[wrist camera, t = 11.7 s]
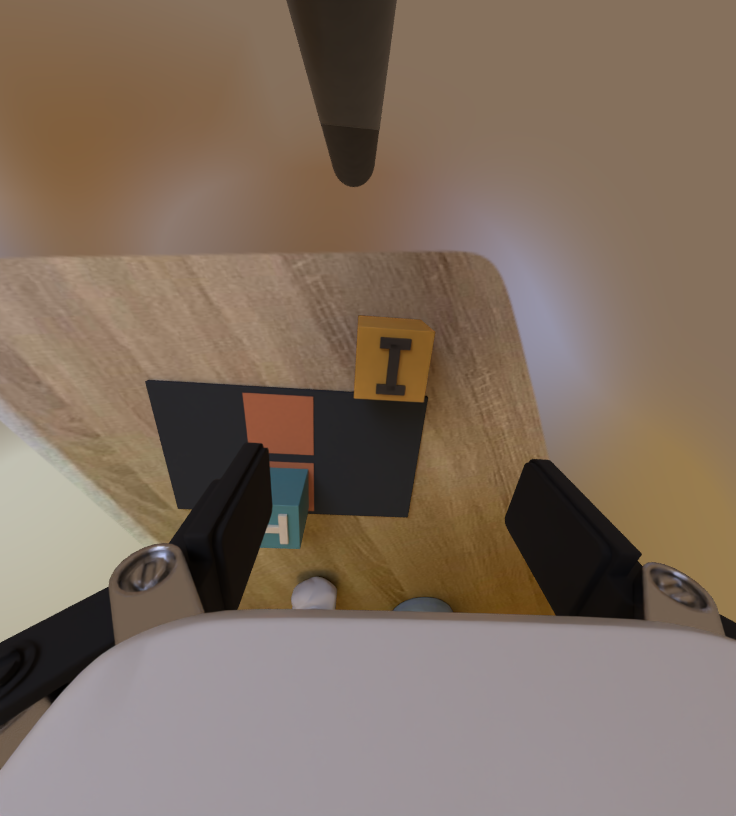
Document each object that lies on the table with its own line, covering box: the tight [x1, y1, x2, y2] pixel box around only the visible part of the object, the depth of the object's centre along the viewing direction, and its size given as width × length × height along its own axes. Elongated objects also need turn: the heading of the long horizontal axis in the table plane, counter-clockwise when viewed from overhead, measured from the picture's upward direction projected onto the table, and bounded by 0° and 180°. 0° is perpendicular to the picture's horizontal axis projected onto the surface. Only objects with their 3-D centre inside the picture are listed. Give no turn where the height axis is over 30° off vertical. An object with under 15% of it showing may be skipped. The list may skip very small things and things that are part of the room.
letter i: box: [354, 315, 435, 402], centre depth 22 cm, size 5×5×5 cm
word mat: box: [145, 380, 428, 517], centre depth 29 cm, size 14×24×1 cm, turn 86°
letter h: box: [260, 467, 309, 549], centre depth 27 cm, size 5×5×5 cm
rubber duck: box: [291, 577, 337, 610], centre depth 33 cm, size 5×7×8 cm
